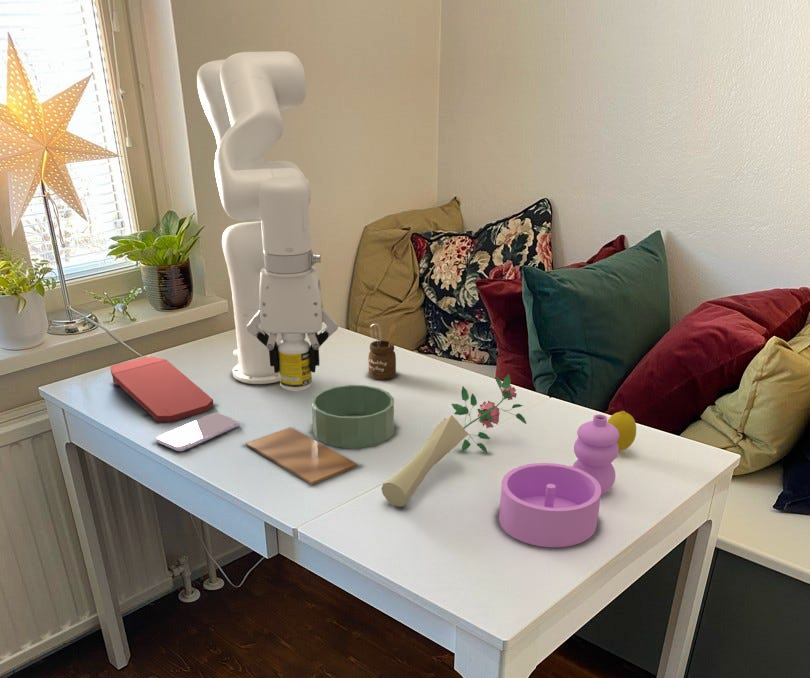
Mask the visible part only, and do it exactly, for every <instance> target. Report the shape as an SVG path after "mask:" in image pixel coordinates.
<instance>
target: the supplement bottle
mask: <svg viewBox="0 0 810 678" xmlns="http://www.w3.org/2000/svg"><path fill="white" fill-rule="evenodd" d="M281 337H282V341H281V342H280V343H279V345H278V357H279V373H280V381H279V385H280V387H281V388H283V389H284V390H288V391H303V390H306V389H308V388H310V387H311V386H312V383H313V381H312V380H313V379H312V372H311V367H310V345H311V344H310V342H308V341H307V340H305V339H306V337H307V334H306V333H285V334H281Z"/></svg>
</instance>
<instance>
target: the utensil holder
mask: <svg viewBox="0 0 810 678" xmlns="http://www.w3.org/2000/svg"><path fill="white" fill-rule="evenodd" d="M373 326H374V327H373ZM376 326H377V327H378V331H379V332H381V330H382V329H381V327H379V324H378V323H372V324H371V325H370V327H373V328H374V330H377V329H376ZM396 327H397V323H393V324H391V325H390V329H389V330H390V331H389V334H388V339H389V340H385V339H382V333H379V335H378V334H377V332H375V336H379V337H378V338H379V340H378V338H374V336H373V335H374V334H373V330H370V332H369V334H370V336H371V338H372V341H371V342H370V344H369V353H368V359H367V360H368V361H367V362H368V364H367V365H368V366H367V367H368V374H369V377H370V378H371V379H374V380H380V381H384V380H385V381H386V380H391V379H393V378H394V377H395V376H396V373H397V356H396V352H395V343H394V342H393V341H392V339H393V338H394V336H395V333H396ZM375 339H376V340H375Z"/></svg>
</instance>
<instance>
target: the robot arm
mask: <svg viewBox="0 0 810 678" xmlns="http://www.w3.org/2000/svg"><path fill="white" fill-rule="evenodd" d="M196 73H197V74H196V84H197V92H198V96H199V100H200V102H201V103H200V104H201V105H202V108H203V110H204V114H205V116H206V117H207V120H208V122H209V124H210V126H211V128H212V131H213V133H214V134H213V135H214V136H215V141H216V145H217V149H216V152H215V156H214V158H215V159H214V173H215V174H214V175H215V179H216V184H217V188H218V193H219V198H220V201H221V205H222V207H223V211H224V212H225V214H226V215H227V216H228V217H229V218H230V219H232V220H234V221H237V222H238V223H234V224H231V225H230V226H228V227H226V229H225V230H224V231H223V233H222V236H221V238H222V239H221V246H222V252H223V256H224V259H225V264H226V268H227V273H228V278H229V284H230V289H231V298H232V307H233V317H234V325H235V336H236V345H237V349H234V350H233V352H232V354H233V355H234V356H235V357H237V364H235V365H234V366H233V368H232V376H233V378H234V379H235V380H237V381H238V382H241V383H244V384H251V385H268V384H274V383H278V382H280V373H279V357H278V345H279V343H280V342H281V341H283V340H282V337H281V334H285V333H305V334H306V336H307V338H308V340H309V343H310V344H309V345H310V367H311V373H316V367H319V366H320V347H321V346H322V345H323V344H324V343H325V342H326V341H327V340H328V339H329V337H331V336H332V335H333V334H334V333H335V332H336V331H338V328H339V323H338V322H337V321H336V320H335V319H334V318H333V317H332V316H331V315H330V314H329V313H328V312H327V311H326V310H325V308H323V307H324V306H323V305H324V304H323V295H322V287H321V280H320V276H319V272H318V269H317V267H315V266H314V265H316V264H320V263H321V262H322V260H321V259H322V258H321V257H322V256H321V255H322V254H320V253H316V252H314V251H312V242H311V241H312V240H311V226H310V225H311V223H310V221H311V220H310V203H311V185H310V181H309V179H308V178H307V177H306V176H305V174H304V172H302V171H301V169H300V168H299V166H298V165H297V164H296V163H294V162H292V161H289V160H272V161H271V160H269V161H267V160H265V158H264V153H266V152H267V151H268V150H270V149H272V148H273V147H274V146H276V145H277V144H278V143H279V141H280V140H281V138H282V136H283V133H284V121H283V118H282V117H283V116H282V115H281V111H287V110H291V109H296V108H298V107H300V106H301V105H302V104H303V103H304V101H305V99H306V97H307V88H308V85H307V76H306V72H305V68H304V65H303V64H302V62H301V60H300V59H299V57H298V56H297V55H296V54H295V53H293V52H291V51H283V50H282V51H278V50H277V51H272V50H271V51H242V52H237V53H234V54H232V55H230V56H228V57H226V59H218V60H212V61H208V62H205V63H204V64H202V65H201V66H200V67H199V68H198V70H197V72H196ZM323 323H324V324H325V325H326V327H325V328H324V329H323V330H322V328H323ZM318 332H319V334H318Z"/></svg>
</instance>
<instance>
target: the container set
mask: <svg viewBox="0 0 810 678" xmlns="http://www.w3.org/2000/svg"><path fill="white" fill-rule="evenodd" d="M592 418H593V419H592V420H589V421H587V422H584V423H581V424H580V426H579V427H578V429H577V431H576V435H577V438H576V439H575V441H574V444H573V452H574V455H575V457H576V458H577V459H576V461H575V462H574V463H572V465H571V466H570V465H566V464H563V463H561V464H560V463H555V462H536V463H535V462H534V463H527V464H523V465H519V466H516V467H515V468H512V469H511V470H509V471H508V472H506V473H505V474H504V475H503V477H502V479H501V485H500V486H501V487H500V500H499V515H498V522H499V525H500V527H501V529H502V530H503V531H504V532H505V533H507V535H508V536H510V537H512V538H513V539H515V540H517V541H520V542H522V543H524V544H529V545H532V546H536V547H543V548H567V547H573V546H575V545H579V544H581V543H584V542H586V541H587V540H589V539H590V538H591V537H593V535H594V534H595V532H596V531H597V530H596V529H597V524H598V518H599V511H600V504H601V497H602V495H604V494H605V493H606V492H607V491H609V490H611V488H612V487H613V485H614V484H615V481H616V470H615V467H614V465H613V464H612V463H613V462H615V460H616V459H617V457H618V455H619V453H620V451H619V447H618V444H617V440H618V439H619V432H618V429H617V428H616V427H614V426H613V425H612V424H610V423H608V422H607V421H608V416H607V415H604V414H593V417H592Z"/></svg>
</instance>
